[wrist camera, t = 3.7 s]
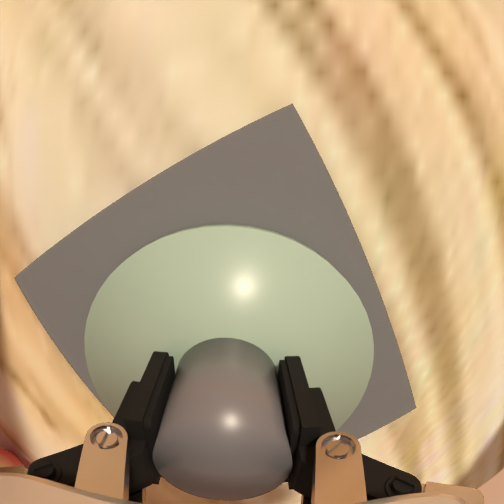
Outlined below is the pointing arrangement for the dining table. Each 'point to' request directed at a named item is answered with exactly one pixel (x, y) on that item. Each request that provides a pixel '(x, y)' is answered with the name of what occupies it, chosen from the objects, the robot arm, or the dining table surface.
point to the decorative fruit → (8, 459)
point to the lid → (228, 348)
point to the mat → (222, 212)
